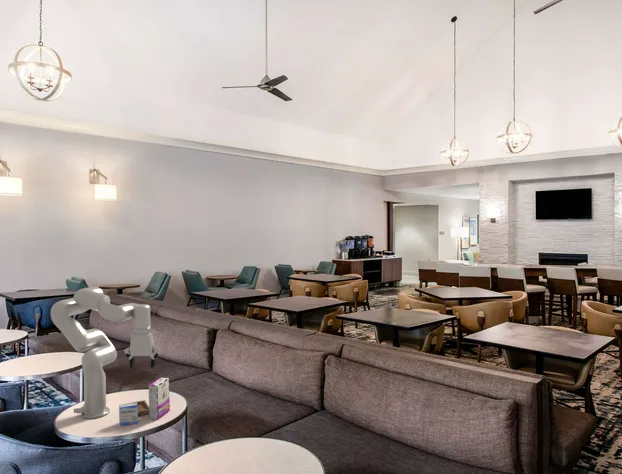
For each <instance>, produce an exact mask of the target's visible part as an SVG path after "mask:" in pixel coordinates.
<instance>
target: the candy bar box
mask: <svg viewBox="0 0 622 474" xmlns="http://www.w3.org/2000/svg"><path fill="white" fill-rule="evenodd" d="M170 403H171V402H170V378H169V377H159V378H158V379H157V380H154V381H153V382H152V383H150V384H149V385H148V406H149V415H148V417H149V418H148V419H149V420H154V419H155V420H157V421H159V420H160V419H161V418H163V417H164V416H165V415H166V414H167V413H169V412H170V410H171V407H170V406H171V405H170Z"/></svg>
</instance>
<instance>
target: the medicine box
mask: <svg viewBox="0 0 622 474" xmlns="http://www.w3.org/2000/svg"><path fill="white" fill-rule="evenodd" d="M135 402H136V403H132V402H128V403H129V404H127V403H123V404H118V408H119V409H118V411H119V412H118V413H119V414H118V417H119V418H118V421H119V422H118V423H119V427H124V426H129V425H130V426H131V425H135V424H136V425H137V424H138V421H139V417H138V405H137V401H135Z"/></svg>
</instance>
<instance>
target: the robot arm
mask: <svg viewBox="0 0 622 474" xmlns="http://www.w3.org/2000/svg"><path fill="white" fill-rule="evenodd" d="M89 310H93V311H95V312H97V313H98V314H99V315H100V317H102V318H103V319H105V320H109V321H111V322H114V323H122V322H125V321H129V320H133V321H132V322H133V325H132V326H133V327H132V328H130V332H132V333H133V334H131V337H130V343H129V347H127V348H125V349H124V350H123V352H124V354H125V356H126V357H127V358H128V360H129V367H130V369H133V368H135V366H136V363H135V362H136V361H135V360H136V359H135V358H134V357H149V358H151V359H150V368H151V369H154V368H155V366H156V364H157V363H156V360H157V357H159V355H160V353H161V352H162V349H161V348H159V347H158V346H156V345H155V341H154V336H153V333H152V332H151V331H152V329H151V328H152V326H151V306H150V305H149V304H146V303H145V304H143V303H142V304H139V303H134V302H131V303H124V304H121V305H115V304H112V303H111V299H110V296H109V295H107V294H104V291H103V289H102V288H100V287H98V286H91V287H90V286H89V287H85V288H80V289H77V291H75V293H74V295H73V297H72V298H67V299H66V298H65V299H62V300H61V299H60V300H59V301H57V302H55V303H54V304H53V305H52V307H51V308H50V317H51V321H52V323H53V324H54V325H55V326H56V328H58V330H60V332H61V333H62V334H63V335H64V337H65V338H66V340H67V341H68V342H69V344H70V345H71V346H72V347H73V349H75V351H77V352H79V353H80V352H85V351H86V352H85V353H84V354H83V355H82V357H81V366H82V371H83V385H84V387H83V391H84V392H83V394H84V395H83V397H84V399H83V400H84V404H82V405H83V406H81V407H77V408H73V413H74V414H77V415H78V414H80V416H81V418H82V419H87V420H90V419H97V418H102V417H105V416H106V415H108V414H109V413H110V408H109V407H108V406H107V388H106V387H107V386H106V385H107V382H106V381H107V380H106V378H107V377H106V376H107V375H106V373H105V371H104V369H103V367H104V366H106V365H109V364H111V363H113V362H115V360H116V359H117V356H118V352H117V349H116V347H115V346H114V344H113V343H112V342H111V340H110V339H109V338H108V337H107V336H106V334H105V333H104V332H103V331H102V330H100V329H99V328H91V329H85V328H84V327H83V326H82V324H81V323H80V322H79V321H78V320H77V319H75V318H73V317H71V316H76V315H79V314H83V313H85V312H87V311H89ZM155 351H156V353H155Z"/></svg>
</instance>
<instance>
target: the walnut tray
mask: <svg viewBox="0 0 622 474" xmlns="http://www.w3.org/2000/svg"><path fill="white" fill-rule="evenodd" d="M136 402H137V405H138V418H140V417H145V416H149V403H147V401H146V399H144V400H138V401H137V400H136V401H133V402H132V401H131V403H136ZM129 403H130V402H128V403H126V404H129Z"/></svg>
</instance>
